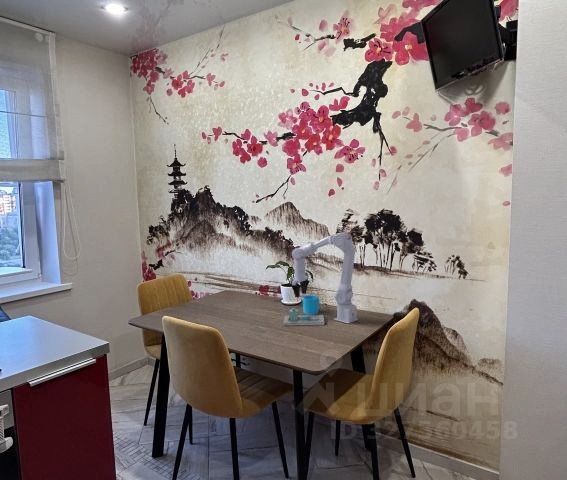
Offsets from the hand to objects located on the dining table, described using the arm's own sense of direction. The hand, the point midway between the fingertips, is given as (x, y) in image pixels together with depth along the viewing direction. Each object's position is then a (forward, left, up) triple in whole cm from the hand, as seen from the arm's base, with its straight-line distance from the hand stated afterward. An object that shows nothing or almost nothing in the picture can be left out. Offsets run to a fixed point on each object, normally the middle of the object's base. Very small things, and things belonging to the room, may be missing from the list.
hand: (300, 295), depth 213 cm
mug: (-2, -7, -10) cm, 13 cm away
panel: (-11, +9, -10) cm, 17 cm away
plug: (-7, +12, -10) cm, 17 cm away
